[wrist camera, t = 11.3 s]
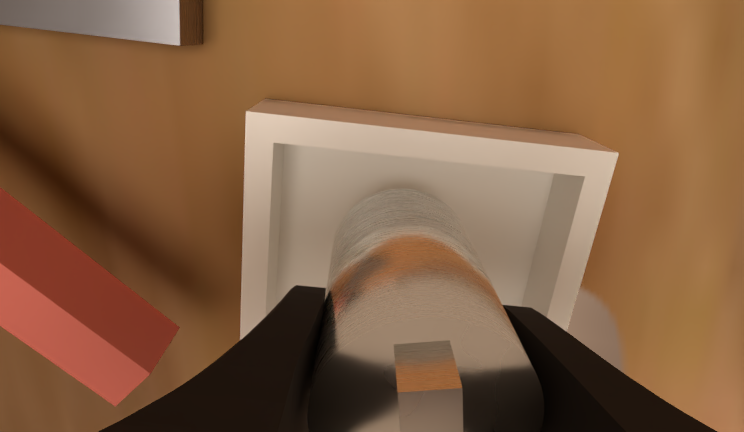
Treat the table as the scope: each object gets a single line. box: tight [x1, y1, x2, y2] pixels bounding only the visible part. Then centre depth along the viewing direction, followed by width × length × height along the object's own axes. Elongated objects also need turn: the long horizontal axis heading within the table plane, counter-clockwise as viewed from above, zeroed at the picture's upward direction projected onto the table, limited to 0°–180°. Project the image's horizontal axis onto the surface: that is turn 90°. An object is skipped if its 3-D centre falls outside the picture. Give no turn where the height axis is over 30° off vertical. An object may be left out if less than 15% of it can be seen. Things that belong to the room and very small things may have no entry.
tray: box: [240, 99, 619, 340], centre depth 15 cm, size 9×9×2 cm
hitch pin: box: [307, 189, 544, 432], centre depth 10 cm, size 4×4×7 cm
